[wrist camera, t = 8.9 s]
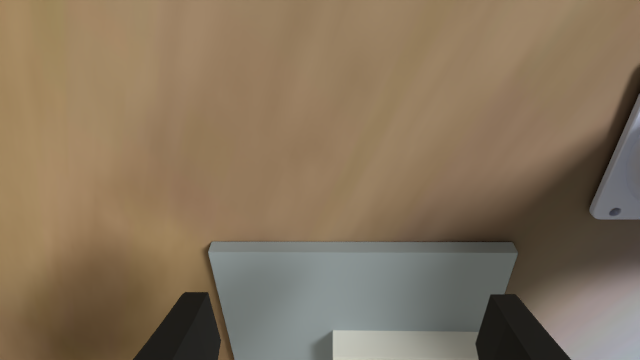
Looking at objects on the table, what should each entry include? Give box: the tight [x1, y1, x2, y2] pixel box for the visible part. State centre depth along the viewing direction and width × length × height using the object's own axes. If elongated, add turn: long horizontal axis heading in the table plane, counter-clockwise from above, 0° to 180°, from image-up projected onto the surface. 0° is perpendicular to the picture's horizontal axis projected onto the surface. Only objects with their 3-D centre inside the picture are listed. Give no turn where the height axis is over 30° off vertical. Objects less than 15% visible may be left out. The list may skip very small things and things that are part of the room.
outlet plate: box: [208, 242, 518, 360], centre depth 25 cm, size 16×16×3 cm
